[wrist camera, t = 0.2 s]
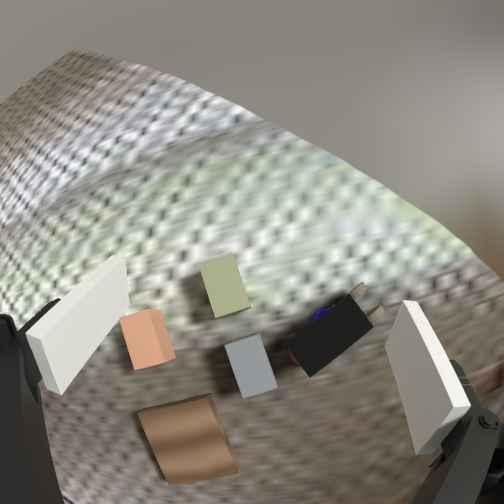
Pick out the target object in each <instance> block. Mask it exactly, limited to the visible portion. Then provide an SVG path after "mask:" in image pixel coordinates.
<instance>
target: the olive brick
mask: <svg viewBox="0 0 504 504" xmlns="http://www.w3.org/2000/svg"><path fill="white" fill-rule="evenodd" d="M198 264H199V268H200V271H201V274H202V277H203V281H204V284H205V287H206V290H207V293H208V297H209V300H210V303H211V306H212V309H213V312H214V315H215V318H222V317H225V316H228V315H231V314H235V313H238V312H241V311H244V310H247V309H250V308H251V305H250V302H249V299H248V296H247V293H246V290H245V287H244V284H243V281H242V278H241V275H240V272H239V269H238V266H237V263H236V260H235V258H234V256H233V254H232V252H231V253H228V254H225V255H222V256H219V257H216V258H213V259H210V260H207V261H204V262H201V263H198Z"/></svg>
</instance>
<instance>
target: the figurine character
mask: <svg viewBox="0 0 504 504" xmlns="http://www.w3.org/2000/svg"><path fill="white" fill-rule="evenodd" d="M365 290H367V287H366V285H365V284H364V283H363V282H362V283H360V284H359V285H357V286H356V287H355V288H353V289H352V290H351V291H350V292H348V293H347V294H346V295H345V296H343V297H341V298H340V299H339V300H340V301H339V302H338V303H336V304H335V305H333V306H332V307H331V308H327V309H323V310H319V311H318V312H317V314H316V316H315V317H314V319H313V321H312V323H309V324H308V325H307V326H306V327H305V328H304V329H302V330H301V331H300V332H298V333H297V334H295V335H294V336H293V337H291V338H290V339H289V340H287V341H286V342H284V343H285V345H286V346H287V347H288V353H289V356H290V358H291V360H292V361H293V362H294V363H295V364H297V365H299V366H302V368H303V369H304V370H305V372H306V373H307V374H308V376H309V377H312V376H313V375H314V374H316V373H317V372H318V371H320V370H321V369H322V368H324V367H325V366H326V365H327V364H329V363H330V362H331V361H333V360H334V359H335V358H337V357H338V356H339V355H340V354H342V353H343V352H344V351H345V350H347V349H348V348H349V347H350V346H352V345H353V344H354V343H355V342H356V341H358V340H359V339H360V338H361V337H362V336H364V335H365V334H366V333H367V332H368V331H370V330H371V329H372V328H373V326H372V323H373V322H375V321H376V320H377V319H379V318H380V317H381V316H382V315H383V314H384V312H385V311H384V310H383V308H382V307H381V305H379V306H377V307H375V308H374V309H372V310H371V311H370V312H368V313H367V314H366V315H365V314H364V313H363V312H362V310H361V309H360V307H359V306H358V305H357V303H356V302H355V300H354V299H356V298H357V297H358V296H360V295H361V294H362V293H363V292H364V291H365ZM321 314H322V315H321Z"/></svg>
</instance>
